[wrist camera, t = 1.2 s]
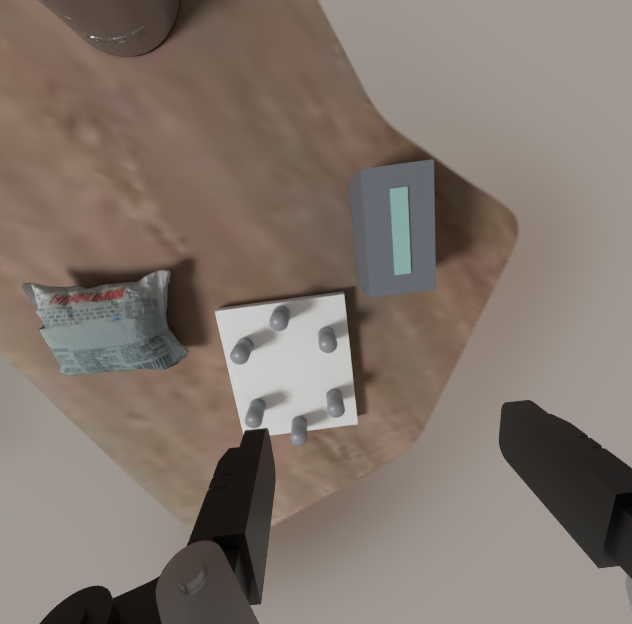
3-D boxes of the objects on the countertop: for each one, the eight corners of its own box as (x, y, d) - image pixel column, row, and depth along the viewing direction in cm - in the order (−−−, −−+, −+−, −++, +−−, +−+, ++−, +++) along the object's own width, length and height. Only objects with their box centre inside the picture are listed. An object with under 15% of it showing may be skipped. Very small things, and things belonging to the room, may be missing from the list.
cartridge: (348, 182, 26) (360, 168, 20) (405, 175, 26) (434, 158, 20) (357, 283, 28) (371, 298, 22) (409, 277, 28) (436, 289, 22)
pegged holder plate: (218, 307, 28) (205, 319, 25) (342, 291, 28) (347, 300, 24) (246, 431, 32) (238, 456, 28) (356, 417, 32) (362, 440, 28)
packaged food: (50, 277, 27) (-5, 289, 22) (178, 266, 27) (151, 275, 22) (79, 363, 30) (36, 389, 25) (197, 352, 30) (176, 377, 25)
